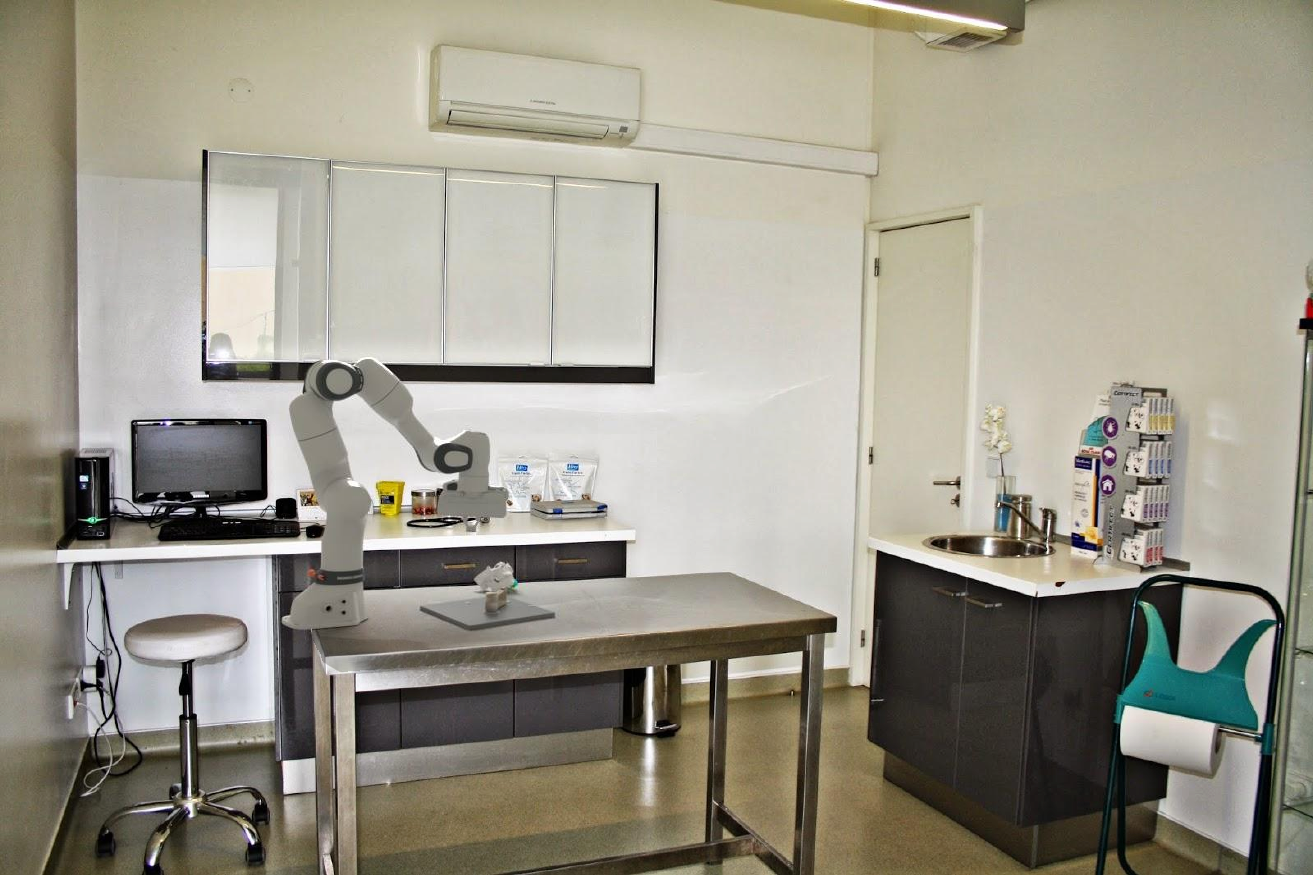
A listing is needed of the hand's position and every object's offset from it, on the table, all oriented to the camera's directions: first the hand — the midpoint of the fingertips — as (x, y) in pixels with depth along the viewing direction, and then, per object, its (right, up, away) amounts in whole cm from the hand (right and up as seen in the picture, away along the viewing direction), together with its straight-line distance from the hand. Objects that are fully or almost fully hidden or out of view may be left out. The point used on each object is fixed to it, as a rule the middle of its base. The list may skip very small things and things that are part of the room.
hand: (471, 531), depth 295 cm
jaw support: (+5, -22, +26) cm, 34 cm away
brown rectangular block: (+8, -22, -4) cm, 23 cm away
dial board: (+6, -23, -6) cm, 24 cm away
